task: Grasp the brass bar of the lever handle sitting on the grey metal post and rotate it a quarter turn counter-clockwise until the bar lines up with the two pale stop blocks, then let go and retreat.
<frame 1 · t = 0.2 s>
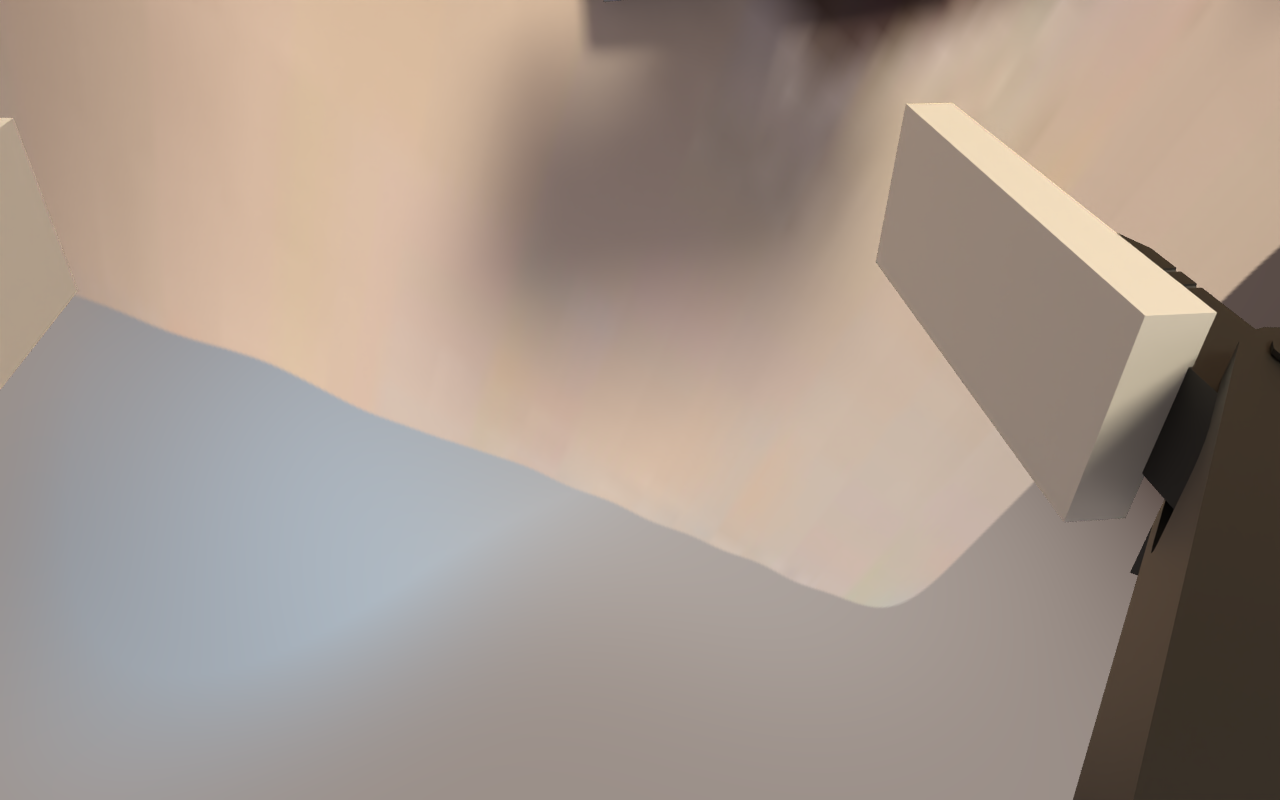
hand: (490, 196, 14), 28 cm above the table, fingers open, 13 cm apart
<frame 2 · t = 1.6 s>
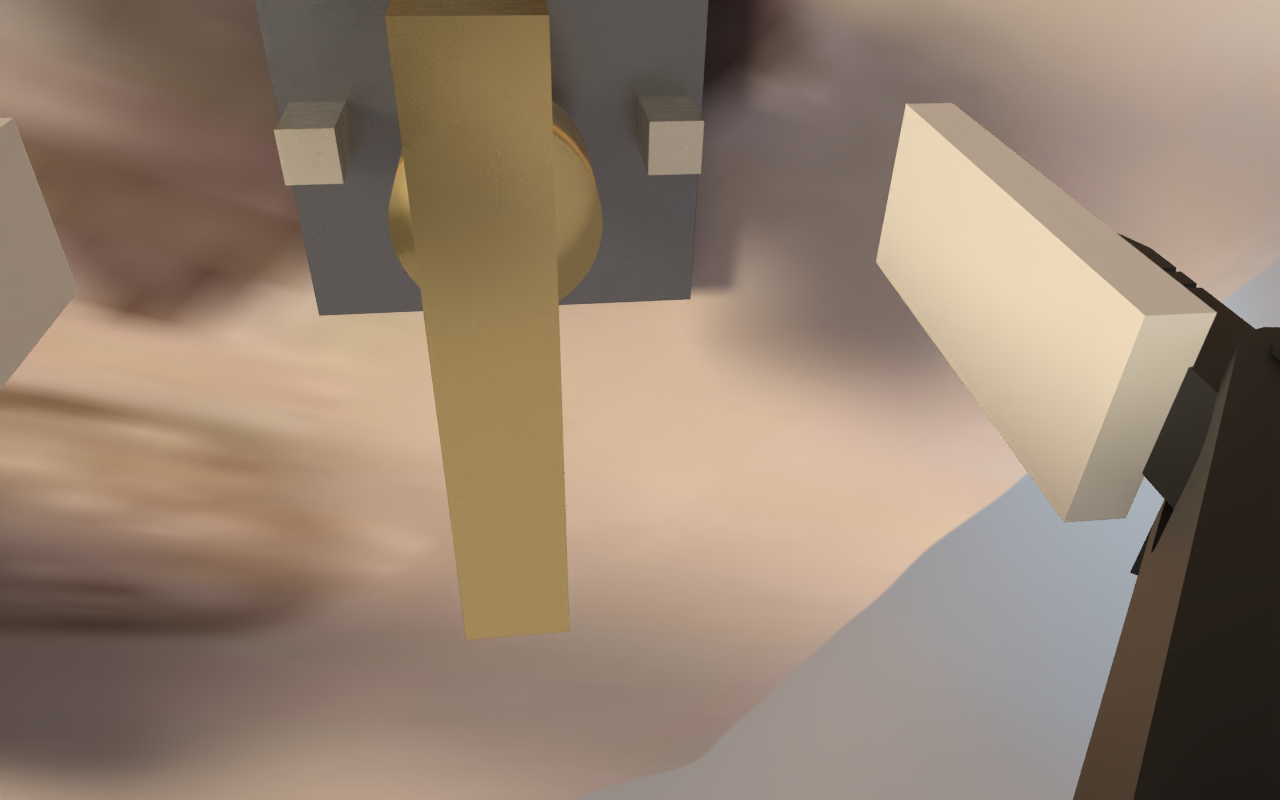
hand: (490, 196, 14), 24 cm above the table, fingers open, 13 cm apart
lever handle: (497, 263, 26), point 14 cm above the table, hinge at 0.0°
post base: (496, 108, 37), on the table
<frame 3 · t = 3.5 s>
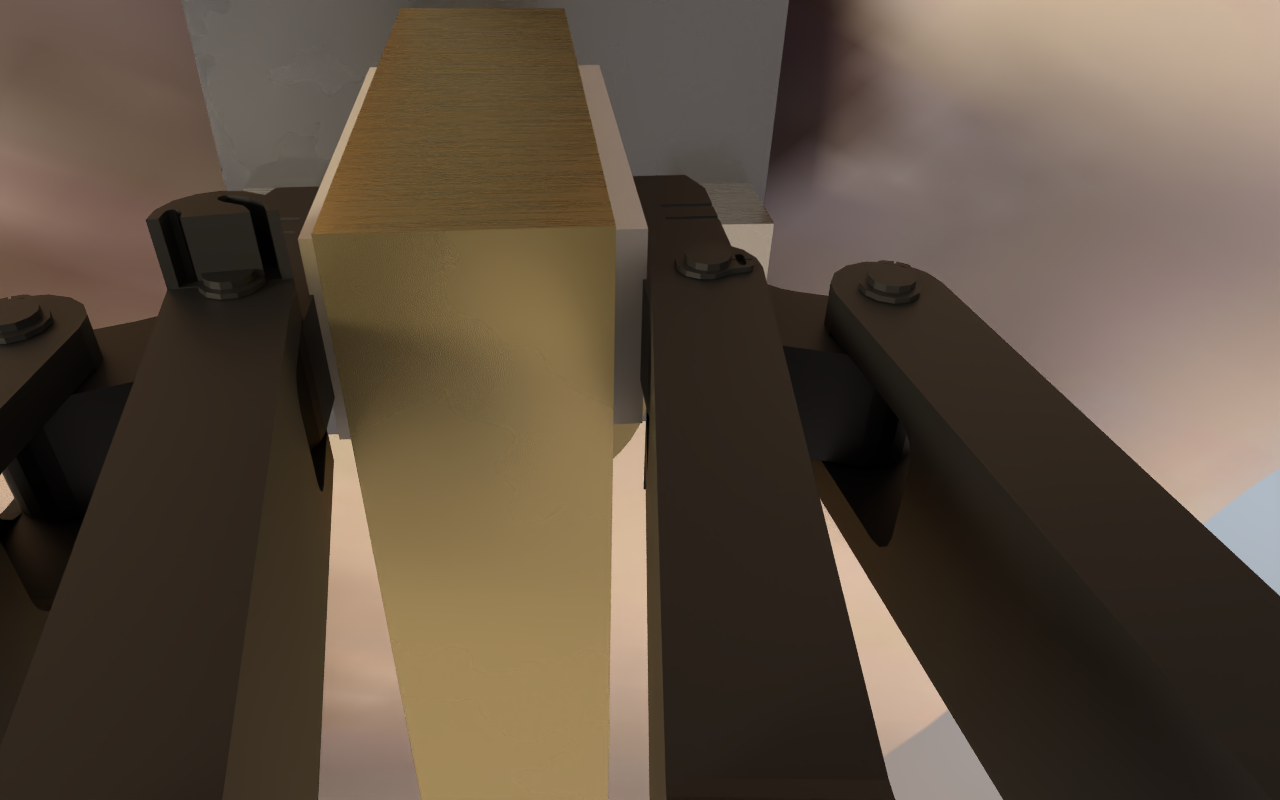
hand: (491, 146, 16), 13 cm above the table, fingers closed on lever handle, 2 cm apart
lever handle: (509, 459, 18), point 14 cm above the table, hinge at 0.6°, touching gripper
post base: (506, 191, 30), on the table
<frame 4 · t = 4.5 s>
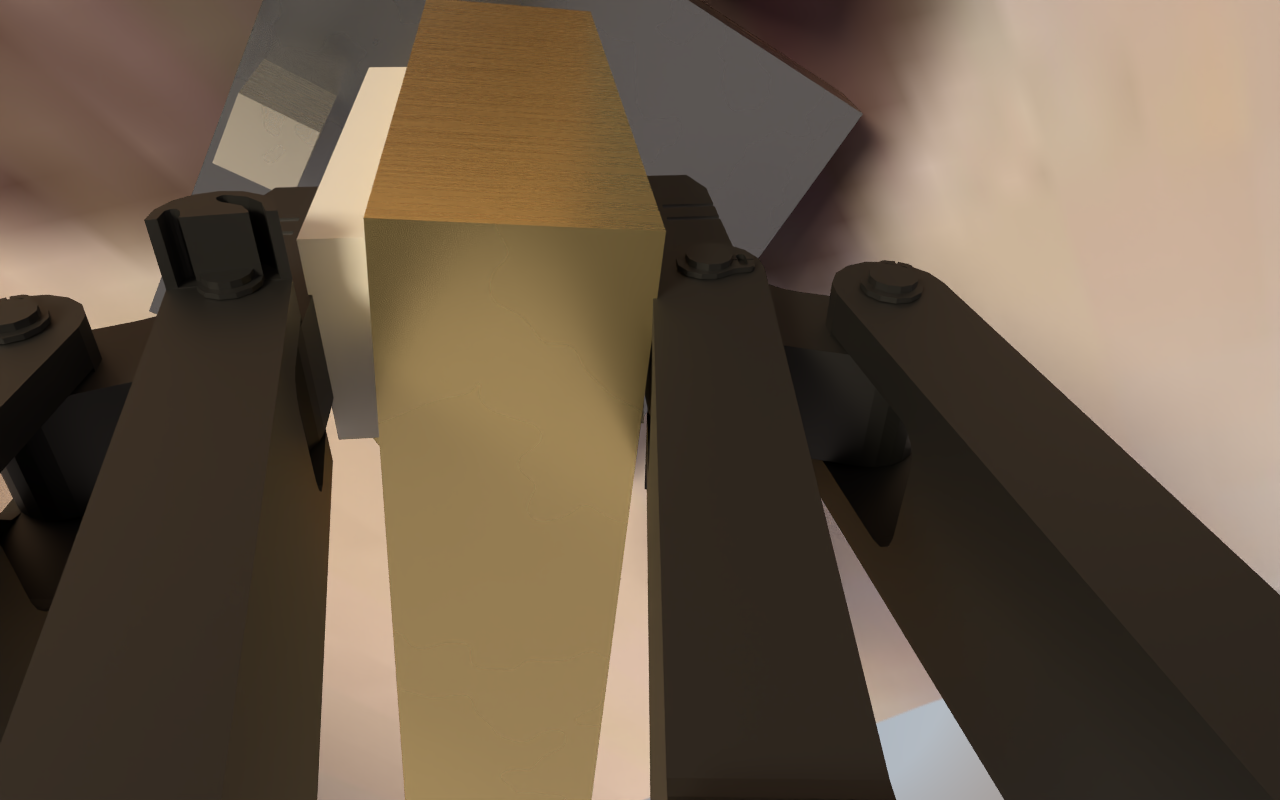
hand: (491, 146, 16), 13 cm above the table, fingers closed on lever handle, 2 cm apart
lever handle: (501, 457, 18), point 14 cm above the table, hinge at 25.6°, touching gripper
post base: (500, 188, 29), on the table
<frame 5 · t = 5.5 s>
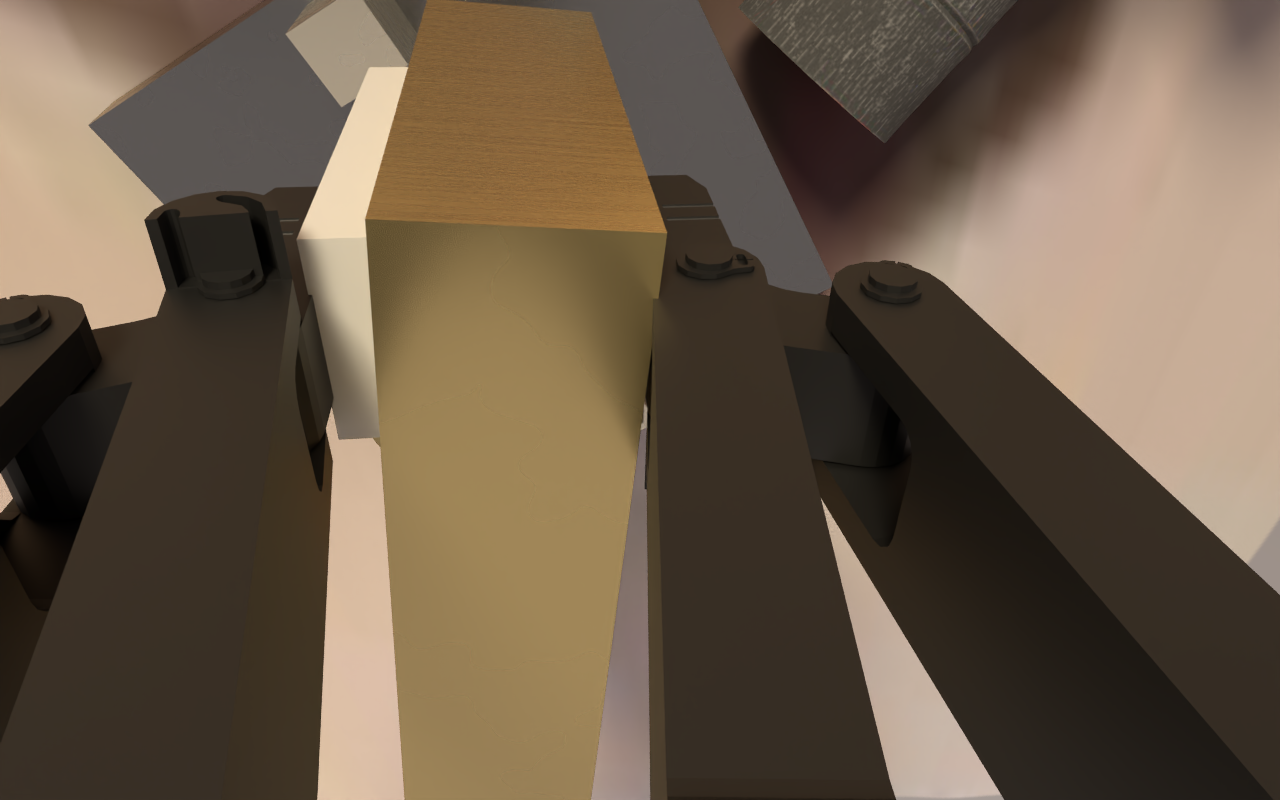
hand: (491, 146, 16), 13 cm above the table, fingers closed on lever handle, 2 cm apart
lever handle: (501, 457, 18), point 14 cm above the table, hinge at 55.3°, touching gripper
post base: (500, 188, 29), on the table
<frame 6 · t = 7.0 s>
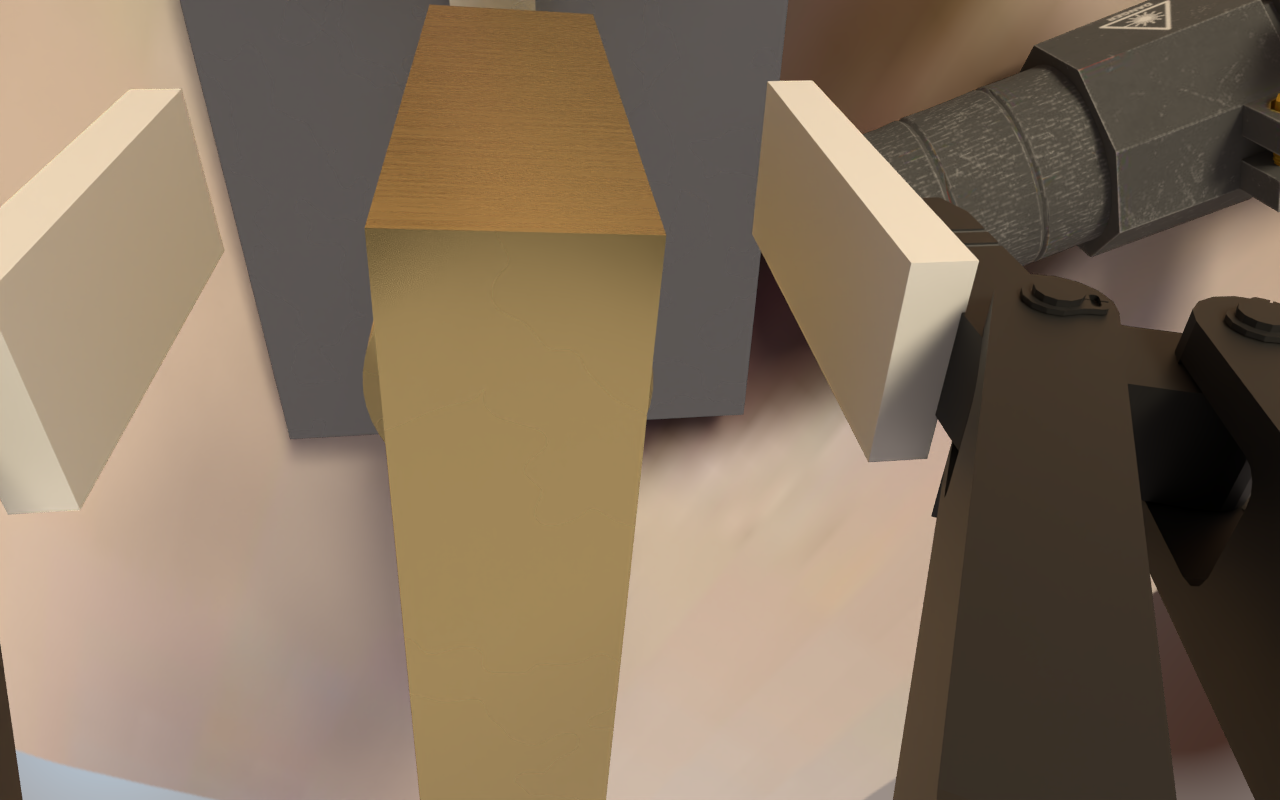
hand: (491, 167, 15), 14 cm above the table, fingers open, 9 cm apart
laser sight: (1121, 77, 30), on the table
lever handle: (512, 460, 18), point 14 cm above the table, hinge at 86.5°
post base: (509, 191, 30), on the table
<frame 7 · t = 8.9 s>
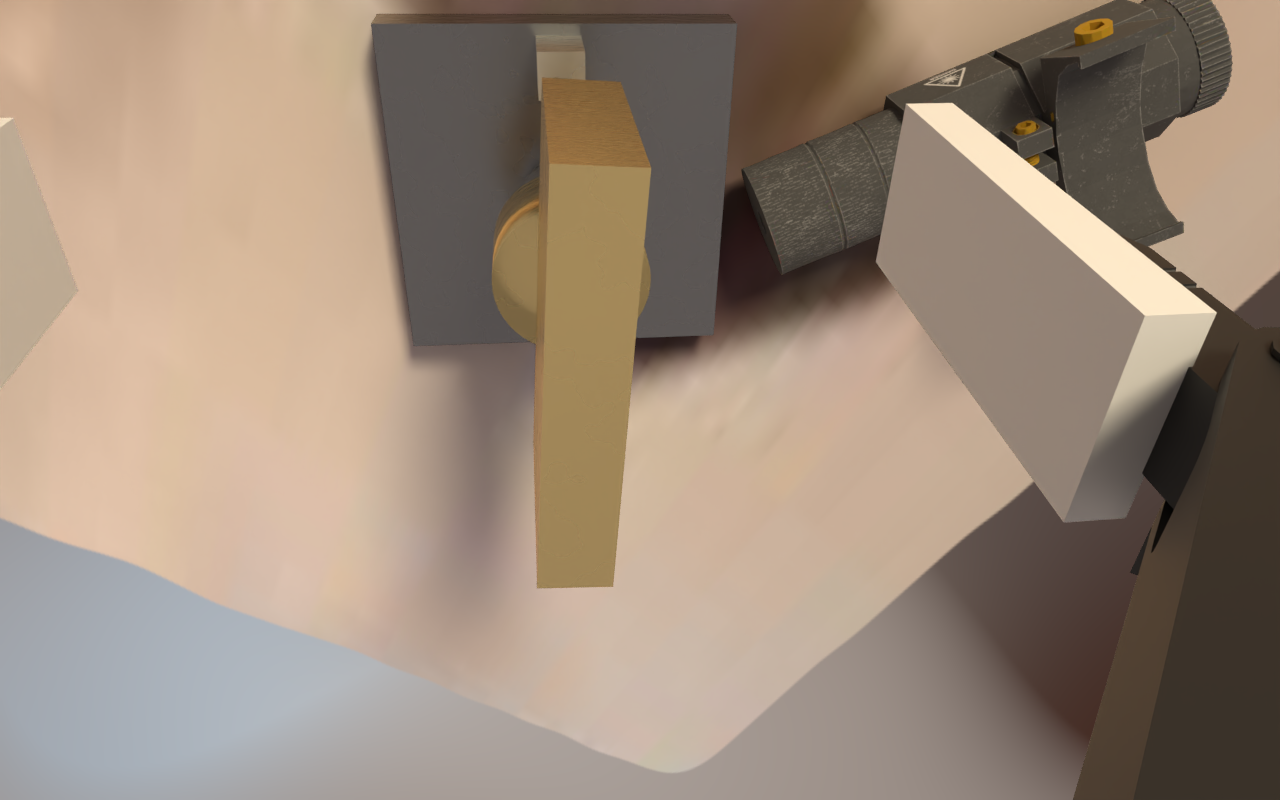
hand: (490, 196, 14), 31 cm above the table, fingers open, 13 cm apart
laser sight: (953, 113, 47), on the table
lever handle: (575, 312, 35), point 14 cm above the table, hinge at 86.5°
post base: (560, 183, 46), on the table
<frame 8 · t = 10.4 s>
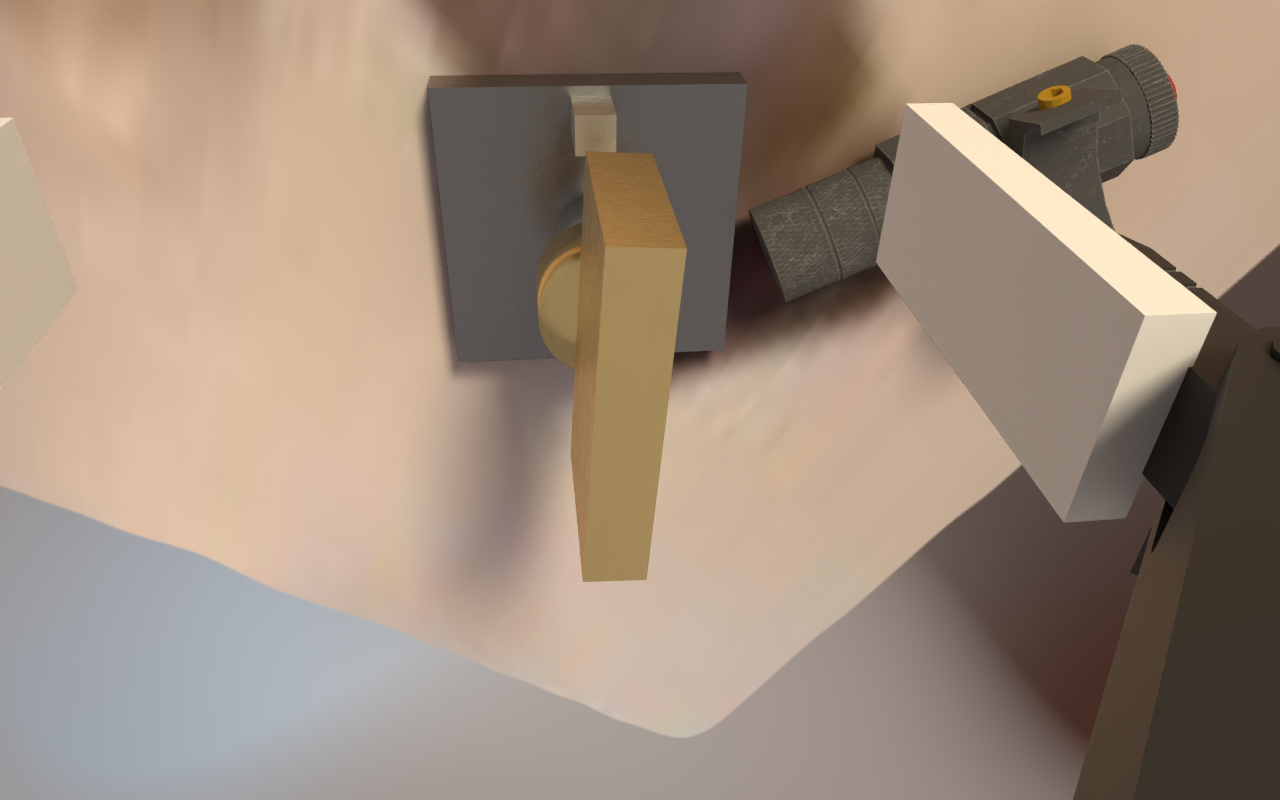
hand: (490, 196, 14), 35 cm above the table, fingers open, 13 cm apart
laser sight: (937, 154, 53), on the table
lever handle: (612, 346, 41), point 14 cm above the table, hinge at 86.5°
post base: (589, 218, 52), on the table
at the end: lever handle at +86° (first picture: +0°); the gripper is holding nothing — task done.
